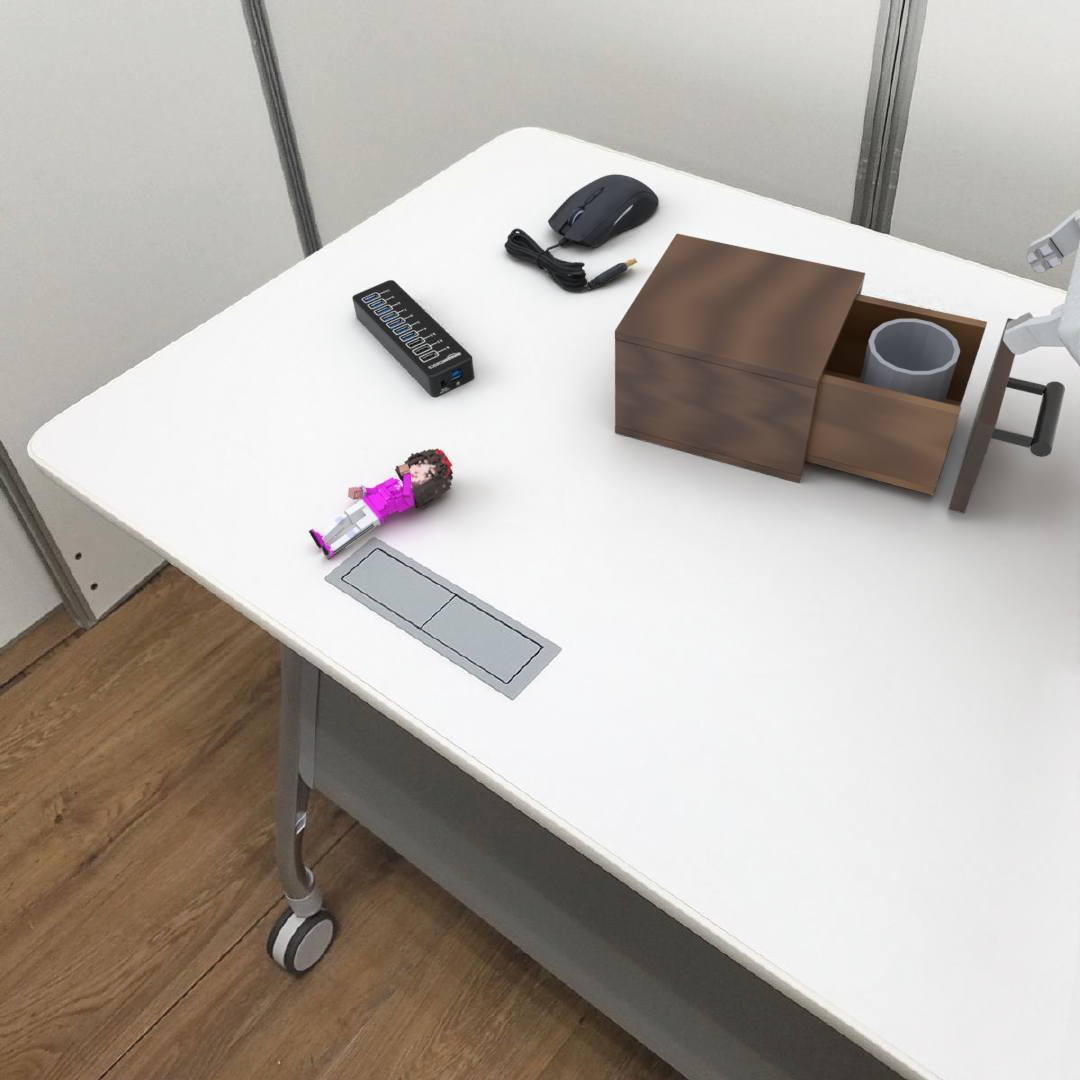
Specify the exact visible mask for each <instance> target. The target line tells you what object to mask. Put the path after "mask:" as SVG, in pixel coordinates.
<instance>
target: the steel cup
mask: <svg viewBox="0 0 1080 1080" xmlns="http://www.w3.org/2000/svg"><path fill="white" fill-rule="evenodd" d="M959 354H960V348H959V345H958V342H957V340H956V339H955V337H954V336H953V335H952V334H951V333H950V332H949V331H948V330H946V329H944V328H942V327H940V326H938V325H936V324H935V323H932V322H928V321H924V320H919V319H896V320H892V321H889V322H885V323H883V324H881V325H880V326H879V327H877V328H876V329H875V330H873V332H872V334H871V336H870V338H869V341H868V345H867V350H866V355H865V359H864V364H863V368H862V373H861V377H860V382H859V383H863V384H867V385H871V386H876V387H880V388H884V389H888V390H892V391H896V392H901V393H905V394H909V395H913V396H917V397H921V398H926V399H930V400H934V401H938V402H942V403H945V400H946V397H947V394H948V391H949V387H950V384H951V381H952V377H953V374H954V371H955V367H956V364H957V361H958V357H959Z"/></svg>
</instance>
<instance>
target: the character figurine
mask: <svg viewBox="0 0 1080 1080" xmlns="http://www.w3.org/2000/svg"><path fill="white" fill-rule="evenodd" d="M452 466H453V463H452V462H451V461H450V459H449V457H448V455H446V454H445V452H444V451H443V450H442V449H439V448H438V447H437V448H432V449H431V448H429V449H427V450H426V449H424V450H422V451H420V452H418V451H417V452H415V453H411V454H410V456H408V457H407V459H406V460H405V461H404V464H401V465H396V466H395V469H394V471H395V473H396V475H397V476H398V478H394V477H390V478H389V479H386V480H384V481H383V482H381V483H379V484H376V485H375V486H374V487H366V486H365V485H363V484H359V486H353V487H348V491H347V497H348V498H350V499H351V500H352V501H353V500H354V501H355V500H357V501H355V503H354V504H353V505H351V506H349V507H348V508H347V509H345V510H344V513H342V514H341V515H340V516H338V517H337V518H335V519H334V520H333V521H332V522H331V523H330V524H329V525H328V526H327V527H325V528H324V530H322V531H321V532H319V531H318V530H317V531H316V530H315V529H313V528H311V529H310V530H308V533H309V535H310V536H311V538H312V540H313V541H314V544H315V545H316V546H317V547H318V548H319V549H322V553H323V555H324V557H326V559H327V560H330V559H331V558H332V557H334V556H335V555H337V554H338V553H340V552H341V551H342V550H344V549H347V548H349V546H351V545H352V544H354V543H355V542H357V541H358V540H360V539H361V538H363V536H365V535H366V534H368V533H369V532H371V531H372V530H374V529H375V528H376V527H377V526H378V527H380V526H381V525H383V524H384V523H385V519H386V518H388V517H389V515H391V514H393V513H395V512H398V513H400V514H401V513H402V512H404V511H407V510H408V509H410V508H412V507H414V506H415V508H416V509H419V510H421V509H423V508H425V507H427V506H429V505H431V503H432V502H435V501H437V500H439V499H440V498H441V496H442V495H443V494H445V493H446V492H447V491H449V490H450V489H452V487H451V485H452V481H453V480H454V476H453V475H454V472H453V470H452ZM351 526H354V527H353V528H351V529H350V530H348V532H346V533H344V534H343V535H342V536H341V537H339V536H340V535H341V534H342V533H343V532H344V531H345V530H347V529H348V528H350V527H351ZM335 537H336V538H338V537H339V538H338V539H337V540H336V541H333V542H332V543H331V544H329V543H330V542H331V541H332V540H333V539H334V538H335Z"/></svg>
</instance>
